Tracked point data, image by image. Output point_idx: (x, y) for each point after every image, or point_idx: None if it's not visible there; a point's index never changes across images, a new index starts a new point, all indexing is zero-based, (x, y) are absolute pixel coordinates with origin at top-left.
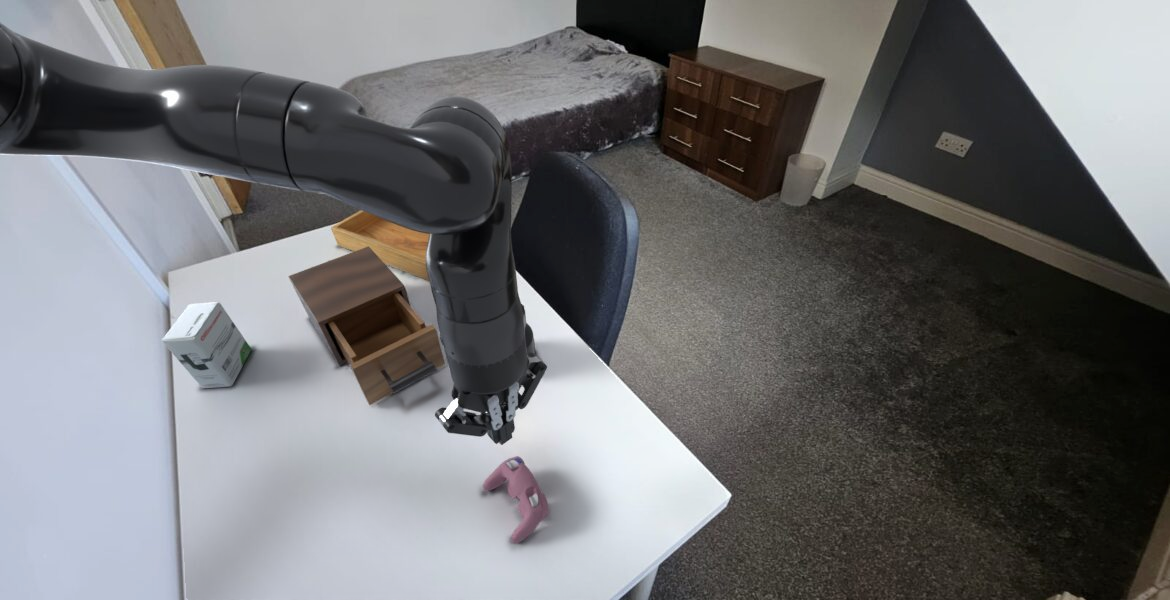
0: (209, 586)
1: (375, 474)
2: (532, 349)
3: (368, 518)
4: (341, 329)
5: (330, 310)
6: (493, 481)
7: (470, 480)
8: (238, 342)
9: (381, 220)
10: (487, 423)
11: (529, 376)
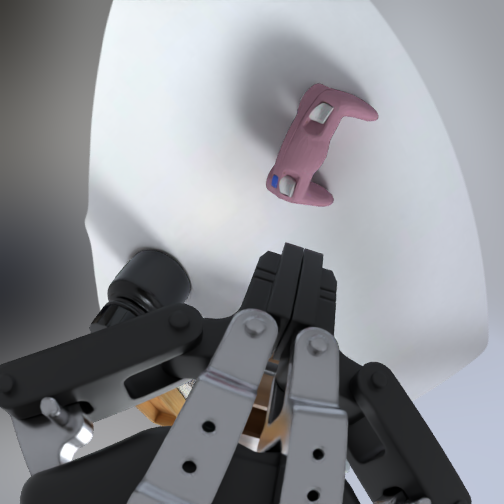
0: (486, 343)
1: (373, 315)
2: (126, 269)
3: (418, 292)
4: (263, 417)
5: (258, 441)
6: (320, 195)
7: (328, 222)
8: None
9: (164, 412)
10: (339, 388)
11: (73, 402)
